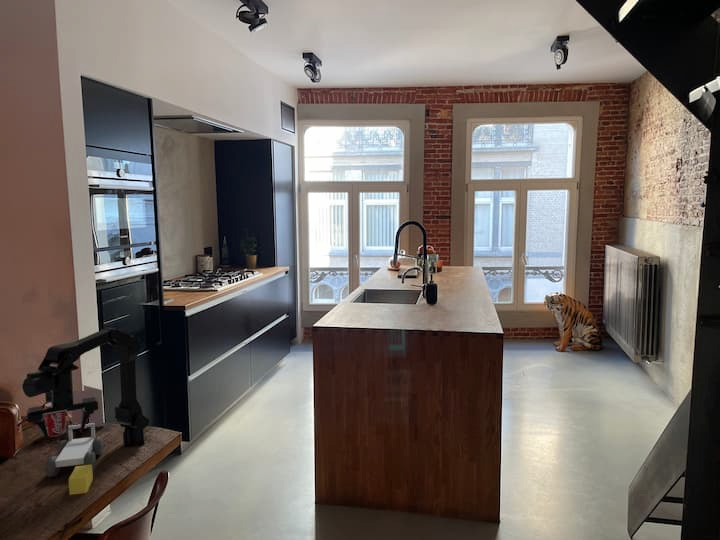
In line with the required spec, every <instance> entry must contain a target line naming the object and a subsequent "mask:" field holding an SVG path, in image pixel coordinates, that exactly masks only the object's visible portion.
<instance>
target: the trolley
mask: <svg viewBox="0 0 720 540" xmlns="http://www.w3.org/2000/svg"><path fill="white" fill-rule="evenodd" d="M87 427H91V428H90V433H91V434H90V435H91V436H90V437H81V438H74V435H73V430H77V429H78V428H81V424H78V425H73V424H71V425H68V426H67V434H68V439H65V440H60V441H59V445H58V452H57V453H58V455H52V456H49V457H48V459H47V463H46V474H47V477H48V478H51V477H57V476H58V475H59V473H60V468H63V467H64V468H65V467H73V466H83V465H92V471H93V472H94V471H95V468H96V456H100V455H101V456H102V455H103V453H102V452H104V438H103V436H96V428H95V423H88V424H86V425H85V427H84V429H88V428H87Z"/></svg>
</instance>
